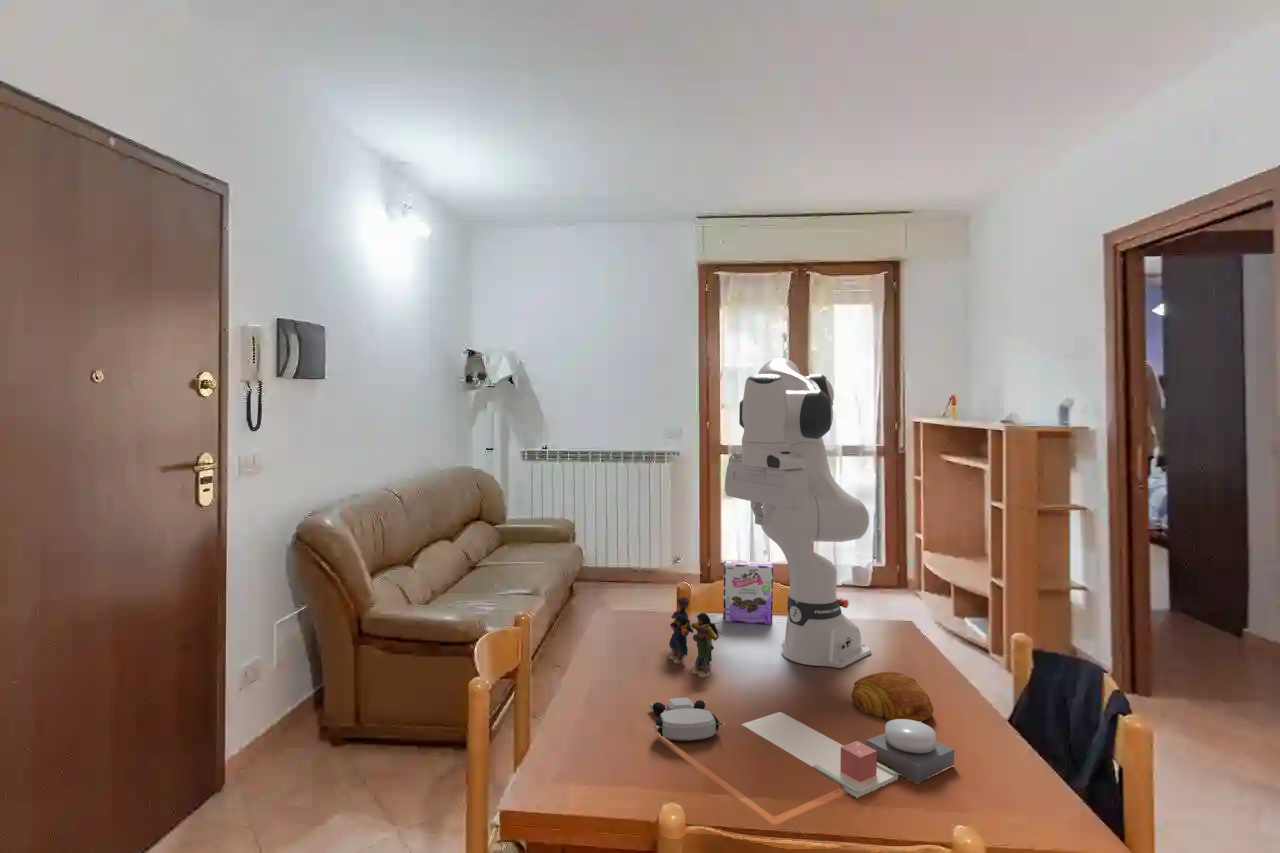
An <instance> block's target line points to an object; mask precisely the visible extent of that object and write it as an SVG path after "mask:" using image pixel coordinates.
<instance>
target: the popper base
mask: <svg viewBox="0 0 1280 853" xmlns="http://www.w3.org/2000/svg"><path fill="white" fill-rule="evenodd" d="M866 746H868V747H870V748H872V749H874V750H876V751H877V760H879V761H880V762H883V763H885V764H886V765H889V766H887V767H888V768H889V769H892V770H893V771H895V772H897V773H899V774H901V775H902V776H901V775H900V776H901V777H903V776H904V777H906V778H908V779H910V780H912V781H913V782H912V781H911V782H912V783H914V782H915V784H916V783H919V782H921V781H923V780H925V779H927V778H928V777H930V776H932V775H934V774H936V773H938V772H940V771H942V770H943V769H945V768H947V767H950V766H952V765H954V766H955V749H954V748H953V747H951V746H948V745H945V744H944V743H941V742H940V741H937V740H936V744H935V749H934V750H933V751H931V752H927V753H911V752H906V751H903V750H900V749H897V748H895V747H893V746H892V745H890V744H889V743H888V742H887V741H886V739H885V732H884V733H882V734H878V735H876V736H873V737H871V738H868V739H866ZM899 774H898V775H899ZM904 777H903V778H904ZM906 778H905V779H906ZM908 779H907V780H908ZM910 780H909V781H910ZM927 780H928V779H927ZM925 781H926V780H925ZM923 782H924V781H923ZM921 783H922V782H921ZM919 784H920V783H919Z"/></svg>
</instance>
